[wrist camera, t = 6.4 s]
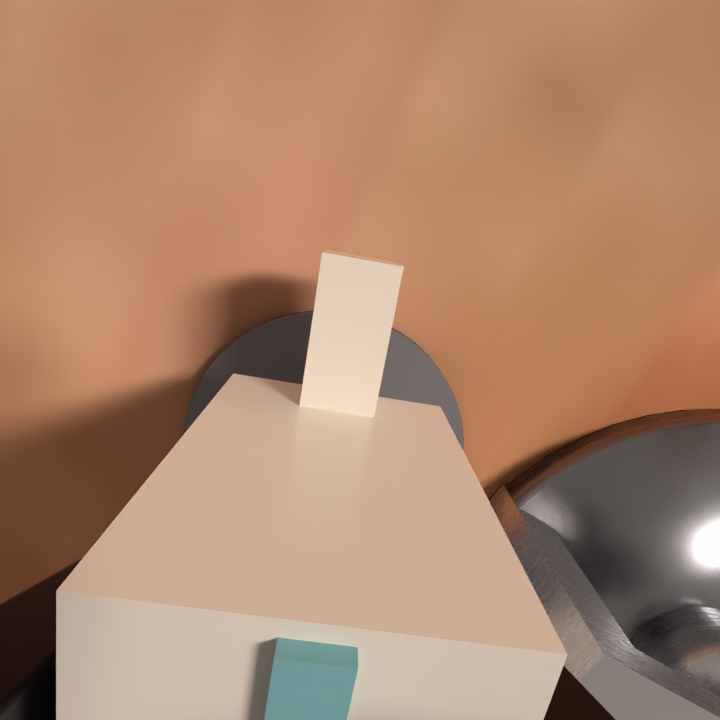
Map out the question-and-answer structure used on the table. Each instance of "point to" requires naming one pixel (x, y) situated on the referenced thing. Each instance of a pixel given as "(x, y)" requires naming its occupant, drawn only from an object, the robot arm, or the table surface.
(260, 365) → the rubber pad
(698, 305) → the table surface
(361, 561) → the cream block with tab
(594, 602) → the lugged metal disc
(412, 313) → the table surface
